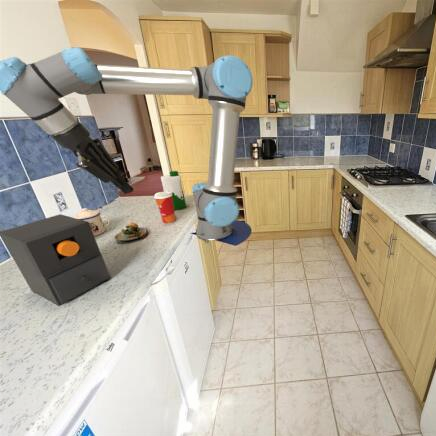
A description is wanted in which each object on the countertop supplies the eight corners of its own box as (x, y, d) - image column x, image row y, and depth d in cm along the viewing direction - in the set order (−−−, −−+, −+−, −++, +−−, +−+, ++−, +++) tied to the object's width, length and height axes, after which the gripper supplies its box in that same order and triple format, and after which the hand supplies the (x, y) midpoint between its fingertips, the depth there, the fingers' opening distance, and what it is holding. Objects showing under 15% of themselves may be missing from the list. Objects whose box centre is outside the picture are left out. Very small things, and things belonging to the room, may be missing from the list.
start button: (81, 251, 68) (76, 239, 66) (64, 259, 64) (58, 246, 63) (76, 250, 69) (71, 237, 67) (59, 257, 65) (53, 244, 64)
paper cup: (161, 219, 120) (154, 192, 115) (178, 216, 123) (172, 190, 117) (160, 225, 114) (152, 196, 108) (177, 222, 116) (171, 194, 111)
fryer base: (110, 277, 77) (100, 251, 73) (59, 306, 66) (43, 277, 62) (83, 266, 83) (72, 242, 80) (31, 291, 72) (16, 263, 68)
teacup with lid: (77, 239, 102) (66, 214, 98) (84, 230, 110) (75, 206, 105) (110, 234, 106) (102, 209, 102) (115, 226, 114) (107, 202, 109)
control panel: (100, 251, 73) (88, 221, 70) (43, 277, 62) (25, 243, 58) (72, 242, 80) (60, 214, 76) (16, 263, 68) (-2, 232, 64)
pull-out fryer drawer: (112, 278, 75) (104, 256, 72) (65, 304, 65) (52, 281, 62) (84, 266, 82) (75, 246, 79) (36, 289, 71) (24, 267, 68)
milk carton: (188, 207, 134) (181, 172, 126) (171, 212, 129) (162, 175, 121) (182, 204, 140) (175, 169, 132) (166, 208, 135) (157, 172, 127)
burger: (110, 240, 101) (104, 223, 98) (137, 228, 111) (133, 213, 108) (127, 246, 96) (121, 229, 93) (154, 234, 105) (150, 218, 102)
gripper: (60, 120, 67) (123, 182, 85) (39, 145, 59) (113, 208, 77) (86, 112, 67) (143, 176, 85) (68, 136, 59) (136, 201, 77)
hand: (129, 191), depth 81 cm, fingers closed
